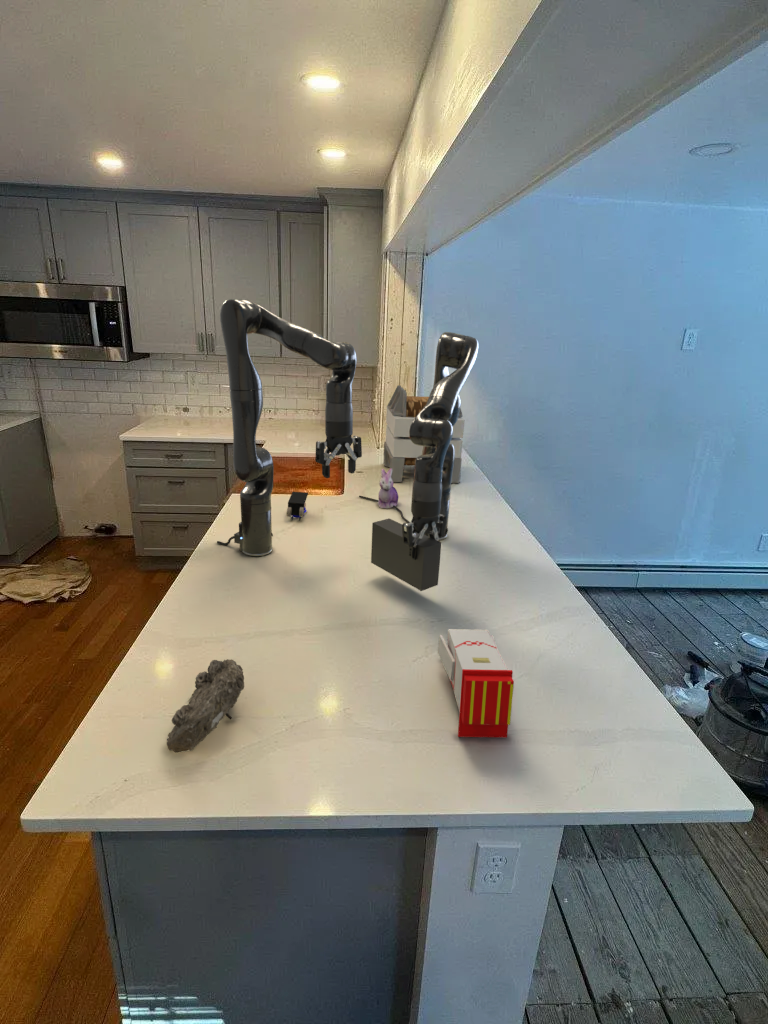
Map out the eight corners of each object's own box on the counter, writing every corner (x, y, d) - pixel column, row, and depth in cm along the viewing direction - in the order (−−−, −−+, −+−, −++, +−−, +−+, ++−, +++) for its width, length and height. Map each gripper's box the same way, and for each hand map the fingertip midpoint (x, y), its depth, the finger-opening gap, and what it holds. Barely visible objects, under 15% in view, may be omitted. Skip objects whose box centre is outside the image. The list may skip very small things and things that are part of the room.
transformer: (382, 463, 289) (386, 382, 275) (445, 464, 293) (451, 384, 279) (390, 482, 257) (394, 392, 243) (460, 483, 261) (468, 394, 247)
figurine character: (304, 526, 206) (308, 508, 220) (304, 507, 203) (308, 490, 216) (286, 525, 206) (291, 507, 219) (285, 507, 203) (290, 489, 216)
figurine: (383, 510, 222) (384, 473, 217) (371, 502, 230) (372, 466, 225) (404, 507, 226) (406, 471, 221) (391, 499, 234) (393, 464, 229)
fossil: (192, 660, 117) (244, 628, 112) (224, 691, 120) (276, 661, 115) (142, 746, 98) (202, 712, 93) (182, 779, 101) (242, 748, 96)
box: (438, 584, 152) (441, 542, 148) (421, 591, 149) (424, 547, 144) (387, 557, 168) (389, 518, 163) (370, 562, 164) (372, 522, 160)
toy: (488, 613, 130) (523, 677, 101) (484, 667, 133) (517, 744, 104) (435, 612, 130) (455, 676, 101) (432, 666, 133) (451, 743, 103)
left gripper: (351, 413, 162) (351, 468, 168) (309, 418, 154) (310, 476, 159) (367, 417, 157) (367, 474, 162) (325, 422, 148) (325, 482, 154)
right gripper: (436, 487, 152) (432, 545, 157) (395, 497, 143) (392, 557, 149) (456, 495, 146) (451, 554, 152) (415, 505, 138) (411, 567, 143)
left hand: (339, 475), depth 161 cm, fingers open, 8 cm apart
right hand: (422, 555), depth 150 cm, fingers closed on box, 6 cm apart
